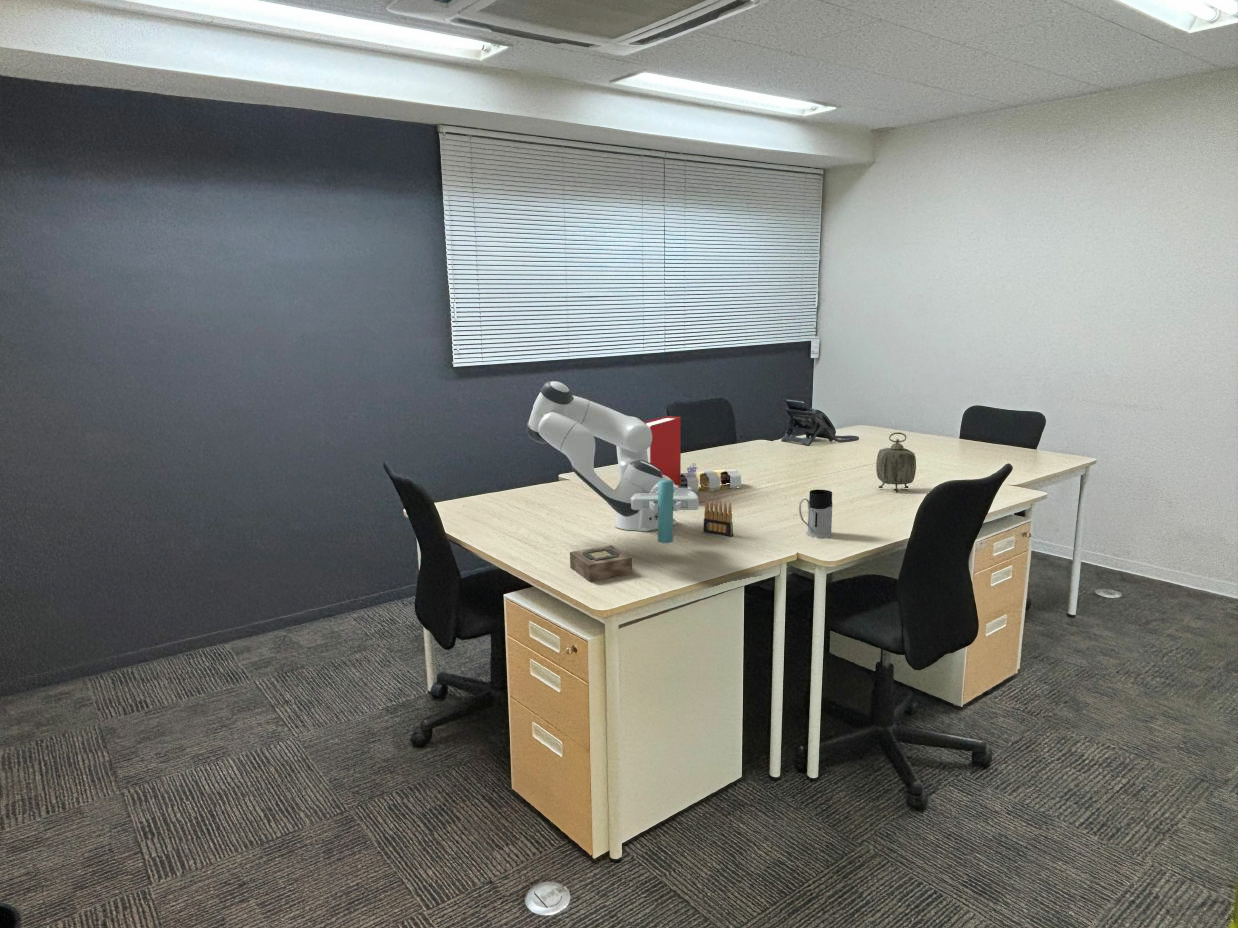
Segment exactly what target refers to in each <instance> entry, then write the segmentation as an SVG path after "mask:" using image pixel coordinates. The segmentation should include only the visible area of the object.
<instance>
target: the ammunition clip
mask: <svg viewBox="0 0 1238 928" xmlns="http://www.w3.org/2000/svg"><path fill="white" fill-rule="evenodd" d="M732 510H733V509H732V502H731V501H729V502H728V504H727V501H724V503H723V502H722V500H720V501H719V503H718V500H715V501H714V502H713V499H710V501H709V500H708V498H706V500H705V504H704V512H703V513H704V516H703V517H704V518H703V527H702V532H703V533H704V534H709V535H717V536H722V537H729V538H732V537H733V536H734V528H733V527H734V523H733V513H732V512H733V511H732Z"/></svg>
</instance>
